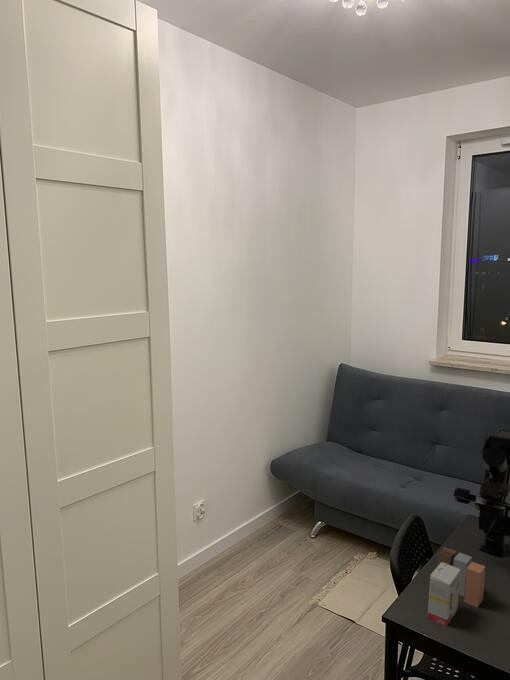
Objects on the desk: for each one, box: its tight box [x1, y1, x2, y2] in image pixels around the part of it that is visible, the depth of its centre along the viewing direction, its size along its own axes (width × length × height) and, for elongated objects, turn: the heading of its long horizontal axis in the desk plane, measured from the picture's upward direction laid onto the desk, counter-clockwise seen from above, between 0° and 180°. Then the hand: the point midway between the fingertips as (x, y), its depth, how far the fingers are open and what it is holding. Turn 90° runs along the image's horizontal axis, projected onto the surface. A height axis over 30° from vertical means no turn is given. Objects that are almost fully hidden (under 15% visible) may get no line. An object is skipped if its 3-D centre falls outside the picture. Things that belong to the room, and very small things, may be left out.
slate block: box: [453, 552, 473, 597], centre depth 133 cm, size 4×3×9 cm
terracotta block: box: [463, 561, 486, 608], centre depth 128 cm, size 4×3×9 cm
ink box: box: [427, 563, 461, 627], centre depth 124 cm, size 9×5×12 cm, turn 142°
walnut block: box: [437, 546, 457, 566], centre depth 135 cm, size 4×3×9 cm
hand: (485, 534), depth 138 cm, fingers closed
